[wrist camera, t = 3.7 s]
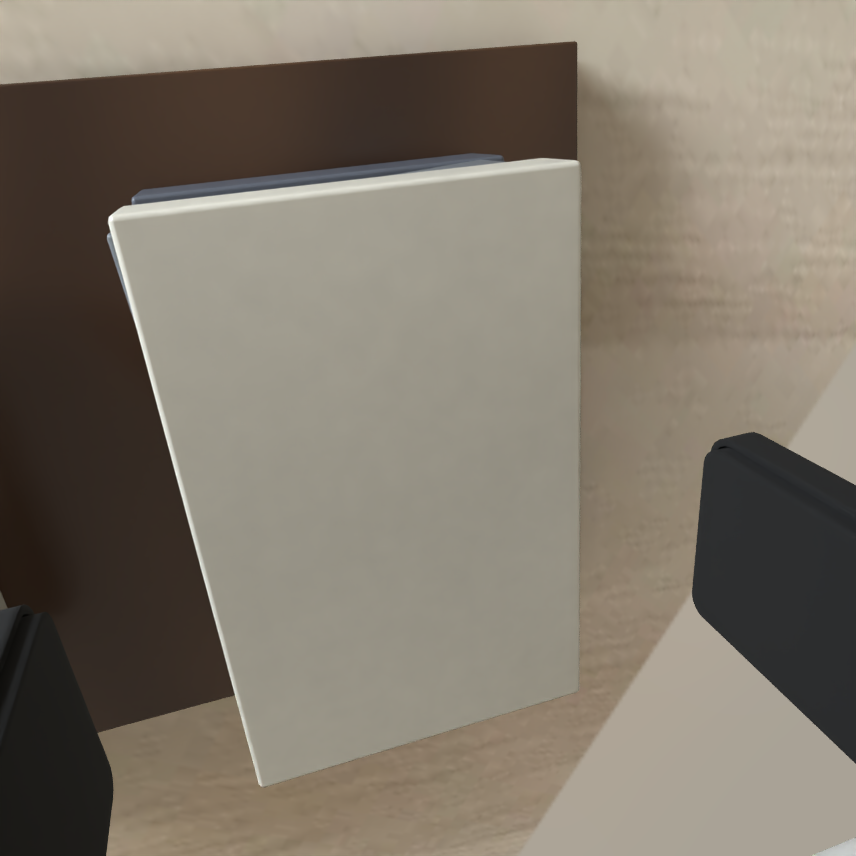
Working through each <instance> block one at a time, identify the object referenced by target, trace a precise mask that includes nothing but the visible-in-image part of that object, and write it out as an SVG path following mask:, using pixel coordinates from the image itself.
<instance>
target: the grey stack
mask: <svg viewBox="0 0 856 856" xmlns="http://www.w3.org/2000/svg"><path fill="white" fill-rule="evenodd" d="M503 162H504V158H503V156H501V155H491V154H476V153H469V154H460V155H451V156H442V157H433V158H424V159H415V160H406V161H397V162H388V163H379V164H370V165H361V166H352V167H343V168H334V169H325V170H315V171H306V172H297V173H288V174H279V175H270V176H261V177H252V178H243V179H234V180H225V181H216V182H207V183H198V184H189V185H180V186H171V187H162V188H152V189H143V190H141V191H140V192H138V193H137V194H136V195H135V196H133V197H132V200H131V203H132V205H137V204H146V203H155V202H163V201H172V200H181V199H190V198H198V197H207V196H216V195H224V194H233V193H242V192H251V191H259V190H268V189H277V188H285V187H294V186H303V185H312V184H320V183H329V182H338V181H346V180H355V179H364V178H373V177H381V176H390V175H399V174H407V173H416V172H425V171H434V170H442V169H451V168H460V167H468V166H477V165H486V164H494V163H503ZM107 241H108V244H109V247H110V250H111V253H112V256H113V259H114V262H115V265H116V268H117V271H118V274H119V277H120V280H121V283H122V286H123V289H124V292H125V295H126V298H127V301H128V304H129V308H130V311H131V314H132V317H133V313H132V310H131V306H130V302H129V299H128V295H127V291H126V287H125V284H124V280H123V276H122V272H121V269H120V265H119V261H118V258H117V254H116V250H115V246H114V243H113V239H112V235H111V232H110V233H109V234H108V235H107ZM133 320H134V317H133ZM134 323H135V321H134ZM135 326H136V325H135ZM136 329H137V328H136Z"/></svg>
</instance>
